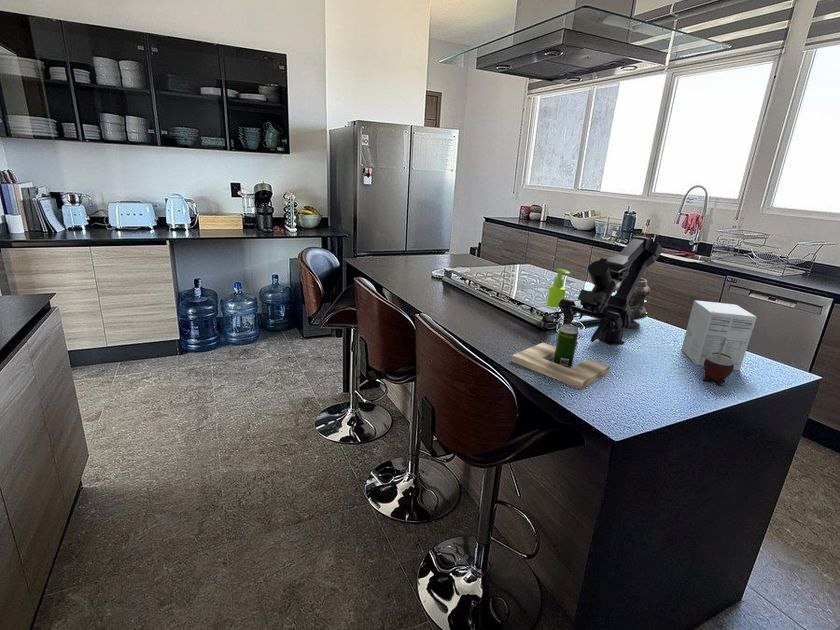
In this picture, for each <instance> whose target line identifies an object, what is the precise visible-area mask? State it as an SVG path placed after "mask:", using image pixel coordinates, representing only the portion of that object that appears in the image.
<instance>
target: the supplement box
mask: <svg viewBox="0 0 840 630" xmlns="http://www.w3.org/2000/svg"><path fill="white" fill-rule="evenodd" d="M691 307H692V308H691V311H690V314H689V315H690V316H689V320H688V322H687V323H688V324H687V327H686V329H685V334H684V337H683V338H684V339H683V343H682V346H681V349H680V350H681V351H682V352H683V353H684V354H685V356H687V357H688V359H690V361H691V362H693V364H694V365H697V366H703V367H704V361H705V359H706V357H707V356H708V355H709V354H710V353H713V352H717V353H719V351H720V348H721V343H722V342H723V339H724V338H726V341H725V345H724V347H723V350H722V354H726V355H728V356H730V357H731V358H732V359H733V361H734V369H733V371H740V370H741V368H742V364H743V363H744V359H745V355H746V352H747V349H748V346H749V343H750V340H751V338H752V337H751V336H752V333H753V330H754V328H755V324H756V320H757V318H758V316H756V315H755V314H753V313H752V312H749V311H747V310H746V309H744V308H743V307H741V306H740V305H738V304H733V303H725V302H724V303H723V302H716V301H715V302H713V301H706V300H705V301H704V300H693V303H692V306H691Z"/></svg>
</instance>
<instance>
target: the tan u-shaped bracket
mask: <svg viewBox="0 0 840 630" xmlns="http://www.w3.org/2000/svg"><path fill="white" fill-rule="evenodd" d="M555 349H556V345H555V346H554V345H552V344H548V343H547V342H541V343H537V344H536V345H534V346H531V347H529V348H526V349H524V350H521V351H518V352H516V353H514V354H512V356H511V362H512V363H514V364H517V365H520V366H522V367H525V368H527V369H529V370H532V371H534V372H536V373H540V374H542V375H543V376H547V377H549V378H551V377H552V379H554V380H556V379H557V381H559V382H561V381H562V383H564V384H567V385H569V386H571V387H573V388H576V389H579V390H582V389H584V388H586V387H587V386H589V385H591V384H592V383H594V382H595V381H597V380H599V379H601V378H602V377H604V376H605V375H607V374H609V373H610V369H611V368H610V367H611V366H610V365H608V364H606V363H602V362H600V361H596V360H594V359H592V358H587V359H585V360H583V361H581V362H579V363H577V364H576V365H574V366H571V367H570V368H567V367H564V366H562V365H559V364H556V363H554V361H550V360H554V355H555Z"/></svg>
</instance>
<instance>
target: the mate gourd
mask: <svg viewBox="0 0 840 630" xmlns="http://www.w3.org/2000/svg"><path fill="white" fill-rule="evenodd" d="M725 341H726V338H724V339H723V342H722V343H721V348H720V351H719V353H717V352H713V353H710V354H709V355H708V356H707V357H706V359H705V361H704V366H703V371H704V378H703V379H702V381H703V382H706V383H714V384H715V385H717V386H718V387H723V383H724V384H725V383H726V379H728V378H729V377H730V375H731V374H732V373H733V371H734V370H733V369H734V361H733V359H732V358H731V357H730V356H728V355H726V354H722V350H723V347H724V345H725Z"/></svg>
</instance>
